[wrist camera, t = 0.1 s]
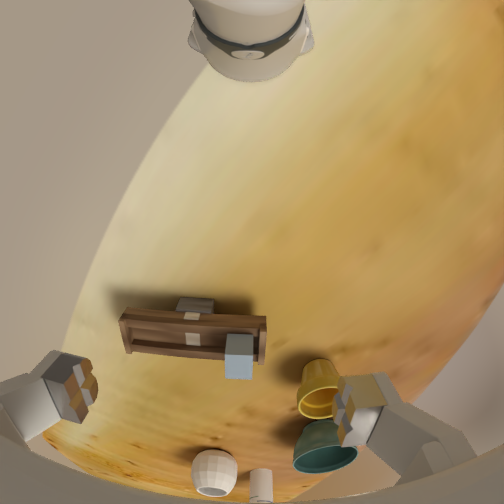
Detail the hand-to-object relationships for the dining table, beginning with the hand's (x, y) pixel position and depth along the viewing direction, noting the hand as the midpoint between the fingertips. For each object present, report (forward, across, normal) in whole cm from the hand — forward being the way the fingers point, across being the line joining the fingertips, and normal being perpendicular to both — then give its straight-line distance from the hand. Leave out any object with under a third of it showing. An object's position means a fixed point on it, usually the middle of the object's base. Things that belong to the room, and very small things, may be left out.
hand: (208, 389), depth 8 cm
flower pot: (+45, -21, +56) cm, 74 cm away
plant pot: (+43, -16, +33) cm, 56 cm away
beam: (+41, +8, +20) cm, 46 cm away
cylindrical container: (+48, -7, +83) cm, 96 cm away
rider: (+35, 0, +20) cm, 40 cm away
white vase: (+46, +7, +72) cm, 86 cm away
